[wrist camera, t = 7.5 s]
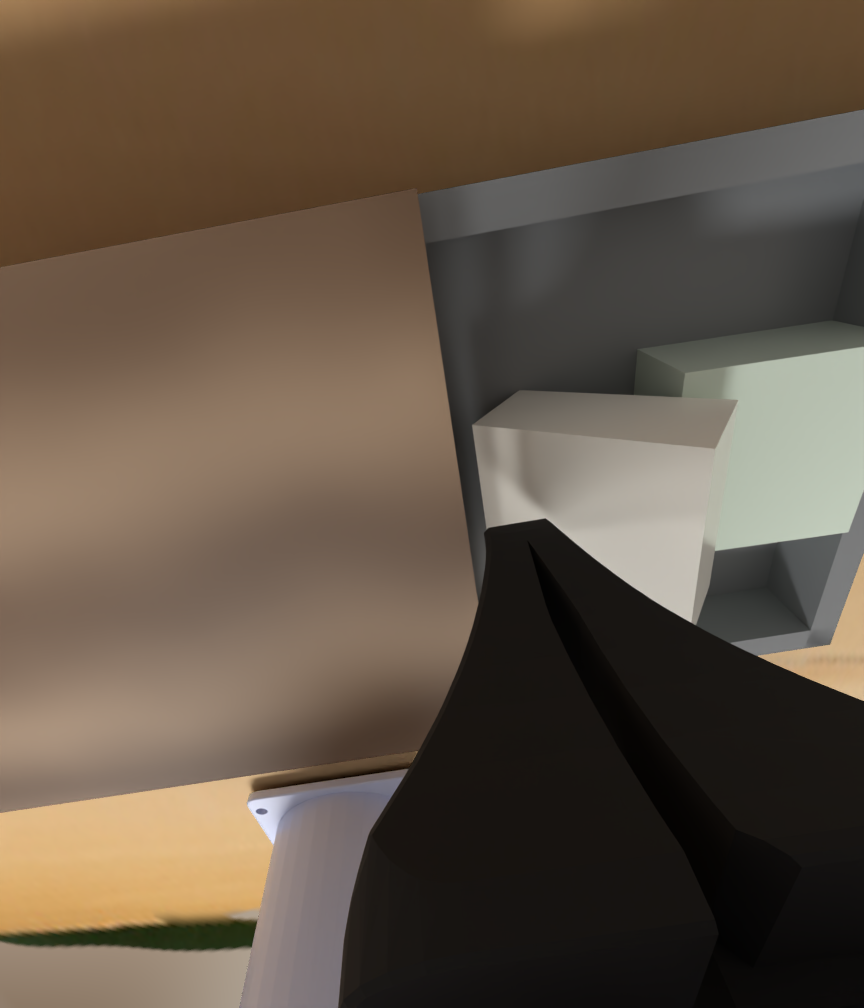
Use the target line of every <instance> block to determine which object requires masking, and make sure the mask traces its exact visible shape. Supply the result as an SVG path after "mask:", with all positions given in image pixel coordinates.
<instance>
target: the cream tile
mask: <svg viewBox="0 0 864 1008" xmlns="http://www.w3.org/2000/svg"><path fill="white" fill-rule="evenodd" d="M737 406H738V400H731V399H709V398H686V397H664V396H641V395H619V394H597V393H574V392H552V391H529V390H519V391H518V392H516V393H515V394H513V395H512V396H511V397H509V398H508V399H507V400H505V401H504V402H503V403H501V404H500V405H499V406H497V407H496V408H494V409H493V410H492V411H490V412H489V413H488V414H486V415H485V416H484V417H482V418H481V419H479V420H478V421H477V422H475V423H474V424H473V425H472V428H473V435H474V442H475V450H476V457H477V464H478V471H479V478H480V486H481V493H482V500H483V507H484V514H485V522H486V529H488V528H489V527H495V526H501V525H508V524H514V523H520V522H526V521H532V520H538V519H544V518H546V519H547V520H549V521H550V522H551V523H552V524H554V525H555V526H556V527H557V528H558V529H559V530H561V531H562V532H563V533H564V534H565V535H566V536H568V537H569V538H570V539H571V540H572V541H574V542H575V543H576V544H577V545H578V546H580V547H581V548H582V549H583V550H584V551H586V552H587V553H588V554H589V555H591V556H592V557H593V558H594V559H596V560H597V561H598V562H600V563H601V564H602V565H604V566H605V567H606V568H608V569H609V570H610V571H612V572H613V573H614V574H616V575H617V576H618V577H620V578H621V579H622V580H624V581H625V582H627V583H628V584H629V585H631V586H632V587H634V588H635V589H637V590H638V591H640V592H641V593H643V594H644V595H646V596H647V597H649V598H650V599H652V600H653V601H655V602H657V603H658V604H660V605H661V606H663V607H665V608H666V609H668V610H670V611H671V612H673V613H675V614H677V615H679V616H680V617H682V618H684V619H686V620H687V621H689V622H691V623H693V624H694V625H696V623H697V621H698V618H699V615H700V612H701V609H702V606H703V603H704V600H705V597H706V594H707V591H708V588H709V585H710V578H711V572H712V566H713V559H714V553H715V546H716V540H717V534H718V527H719V521H720V514H721V508H722V502H723V495H724V489H725V482H726V476H727V470H728V463H729V457H730V451H731V444H732V438H733V431H734V425H735V419H736V412H737Z"/></svg>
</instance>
